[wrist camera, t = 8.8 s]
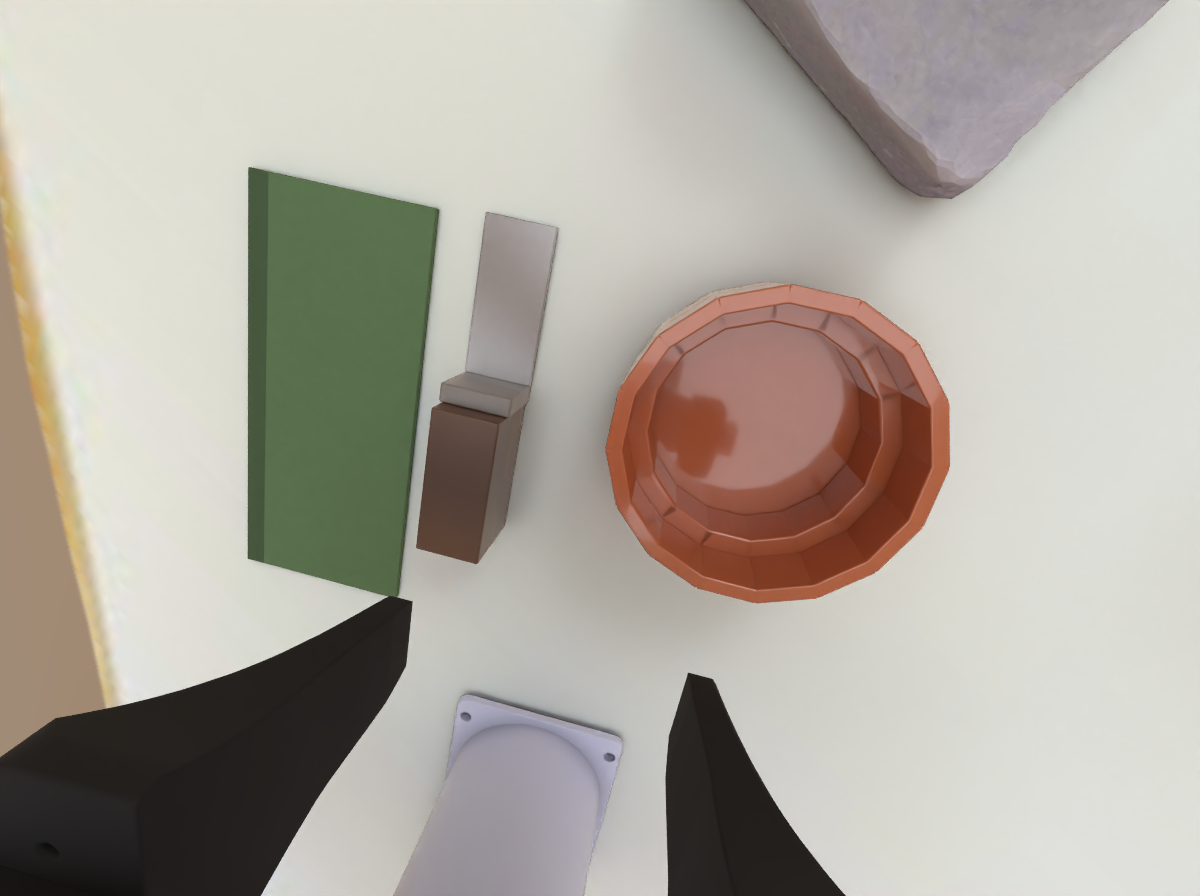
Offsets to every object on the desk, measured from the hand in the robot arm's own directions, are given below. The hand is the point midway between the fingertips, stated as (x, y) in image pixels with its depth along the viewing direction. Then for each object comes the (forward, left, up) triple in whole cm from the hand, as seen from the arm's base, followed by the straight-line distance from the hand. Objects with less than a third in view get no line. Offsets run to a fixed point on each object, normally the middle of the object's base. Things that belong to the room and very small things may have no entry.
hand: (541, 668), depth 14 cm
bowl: (+5, -5, -9) cm, 12 cm away
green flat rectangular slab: (+2, +12, -9) cm, 15 cm away
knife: (+5, +5, -9) cm, 12 cm away
